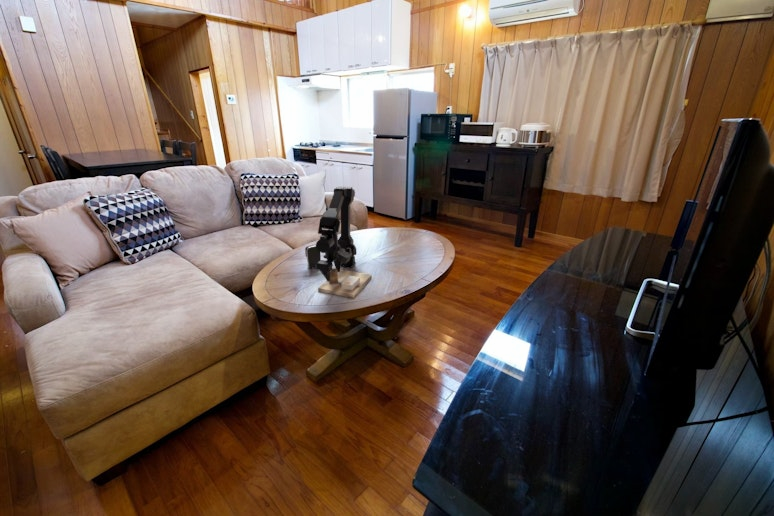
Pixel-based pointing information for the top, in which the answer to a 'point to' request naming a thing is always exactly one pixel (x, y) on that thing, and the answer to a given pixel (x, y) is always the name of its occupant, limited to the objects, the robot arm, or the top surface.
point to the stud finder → (350, 282)
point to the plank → (342, 277)
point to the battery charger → (312, 256)
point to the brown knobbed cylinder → (333, 276)
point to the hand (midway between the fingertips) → (333, 276)
